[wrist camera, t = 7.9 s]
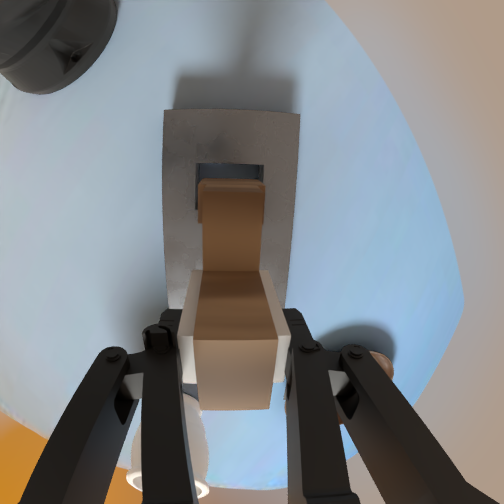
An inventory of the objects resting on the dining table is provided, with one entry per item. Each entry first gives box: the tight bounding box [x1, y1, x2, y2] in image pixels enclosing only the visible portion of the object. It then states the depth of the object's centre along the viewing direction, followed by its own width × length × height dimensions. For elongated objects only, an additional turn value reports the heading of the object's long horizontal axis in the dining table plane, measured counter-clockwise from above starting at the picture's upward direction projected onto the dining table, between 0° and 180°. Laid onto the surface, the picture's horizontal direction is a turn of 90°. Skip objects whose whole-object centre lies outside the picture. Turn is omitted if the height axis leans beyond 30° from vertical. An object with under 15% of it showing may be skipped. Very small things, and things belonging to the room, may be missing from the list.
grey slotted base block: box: [162, 109, 300, 309], centre depth 28 cm, size 24×12×4 cm, turn 177°
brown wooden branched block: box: [193, 178, 279, 410], centre depth 16 cm, size 12×4×13 cm, turn 177°
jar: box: [127, 393, 209, 498], centre depth 32 cm, size 11×10×15 cm
